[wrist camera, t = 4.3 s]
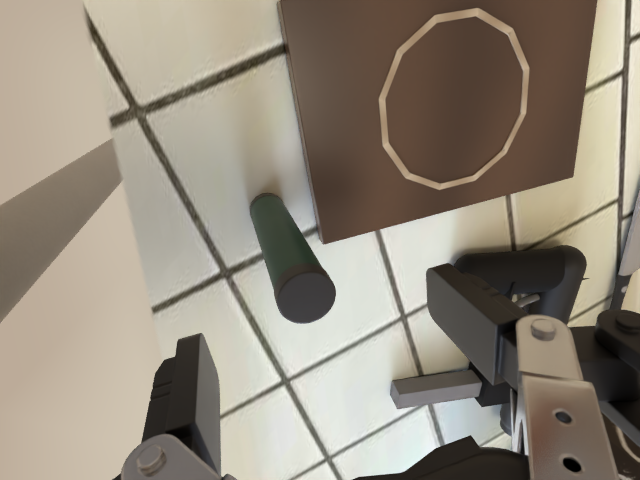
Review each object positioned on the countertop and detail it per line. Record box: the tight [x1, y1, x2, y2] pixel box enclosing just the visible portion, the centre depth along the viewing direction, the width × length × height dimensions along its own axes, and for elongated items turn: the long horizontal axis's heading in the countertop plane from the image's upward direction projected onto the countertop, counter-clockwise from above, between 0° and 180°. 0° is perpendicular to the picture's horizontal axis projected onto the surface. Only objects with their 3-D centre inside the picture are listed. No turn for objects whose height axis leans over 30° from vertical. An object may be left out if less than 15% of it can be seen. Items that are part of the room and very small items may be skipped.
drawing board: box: [277, 0, 597, 244], centre depth 24 cm, size 20×14×1 cm
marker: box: [250, 193, 336, 324], centre depth 19 cm, size 2×2×11 cm
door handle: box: [390, 245, 590, 436], centre depth 33 cm, size 3×20×16 cm
